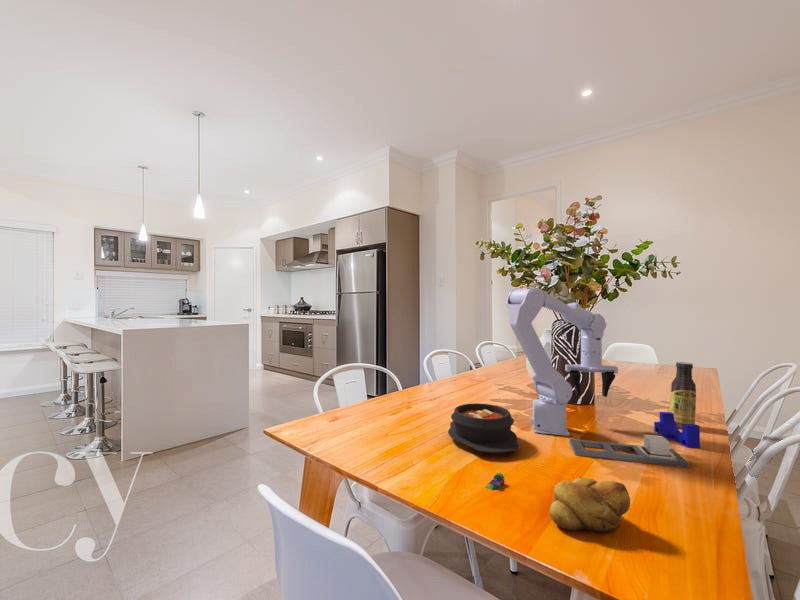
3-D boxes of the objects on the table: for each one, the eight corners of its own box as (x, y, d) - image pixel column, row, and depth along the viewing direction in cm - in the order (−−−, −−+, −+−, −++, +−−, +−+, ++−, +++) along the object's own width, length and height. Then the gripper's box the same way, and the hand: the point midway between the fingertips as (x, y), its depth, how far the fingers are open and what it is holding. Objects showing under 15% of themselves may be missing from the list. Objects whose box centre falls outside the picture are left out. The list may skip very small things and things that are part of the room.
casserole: (537, 457, 88) (538, 423, 88) (466, 463, 85) (466, 428, 85) (493, 423, 113) (493, 397, 113) (436, 427, 109) (436, 399, 109)
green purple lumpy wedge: (491, 481, 77) (491, 470, 77) (504, 485, 75) (504, 474, 75) (483, 489, 74) (483, 478, 74) (496, 494, 72) (496, 482, 72)
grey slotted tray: (574, 455, 89) (574, 449, 89) (569, 443, 97) (569, 437, 97) (688, 467, 83) (688, 461, 83) (672, 453, 90) (672, 447, 90)
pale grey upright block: (650, 460, 86) (650, 440, 86) (643, 454, 90) (643, 434, 90) (669, 462, 85) (669, 442, 85) (662, 456, 89) (662, 436, 89)
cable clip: (654, 431, 106) (654, 411, 106) (670, 432, 106) (670, 412, 106) (681, 448, 94) (681, 425, 94) (699, 448, 94) (699, 426, 94)
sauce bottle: (673, 428, 108) (673, 363, 109) (666, 422, 114) (666, 360, 114) (699, 431, 106) (699, 365, 106) (691, 425, 112) (691, 361, 112)
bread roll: (563, 542, 57) (563, 492, 57) (534, 507, 67) (534, 464, 67) (637, 536, 58) (637, 487, 58) (598, 503, 68) (598, 461, 68)
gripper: (569, 352, 109) (569, 397, 109) (621, 354, 106) (622, 400, 105) (563, 349, 116) (563, 391, 115) (613, 351, 112) (613, 394, 112)
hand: (591, 395), depth 111 cm, fingers open, 7 cm apart
